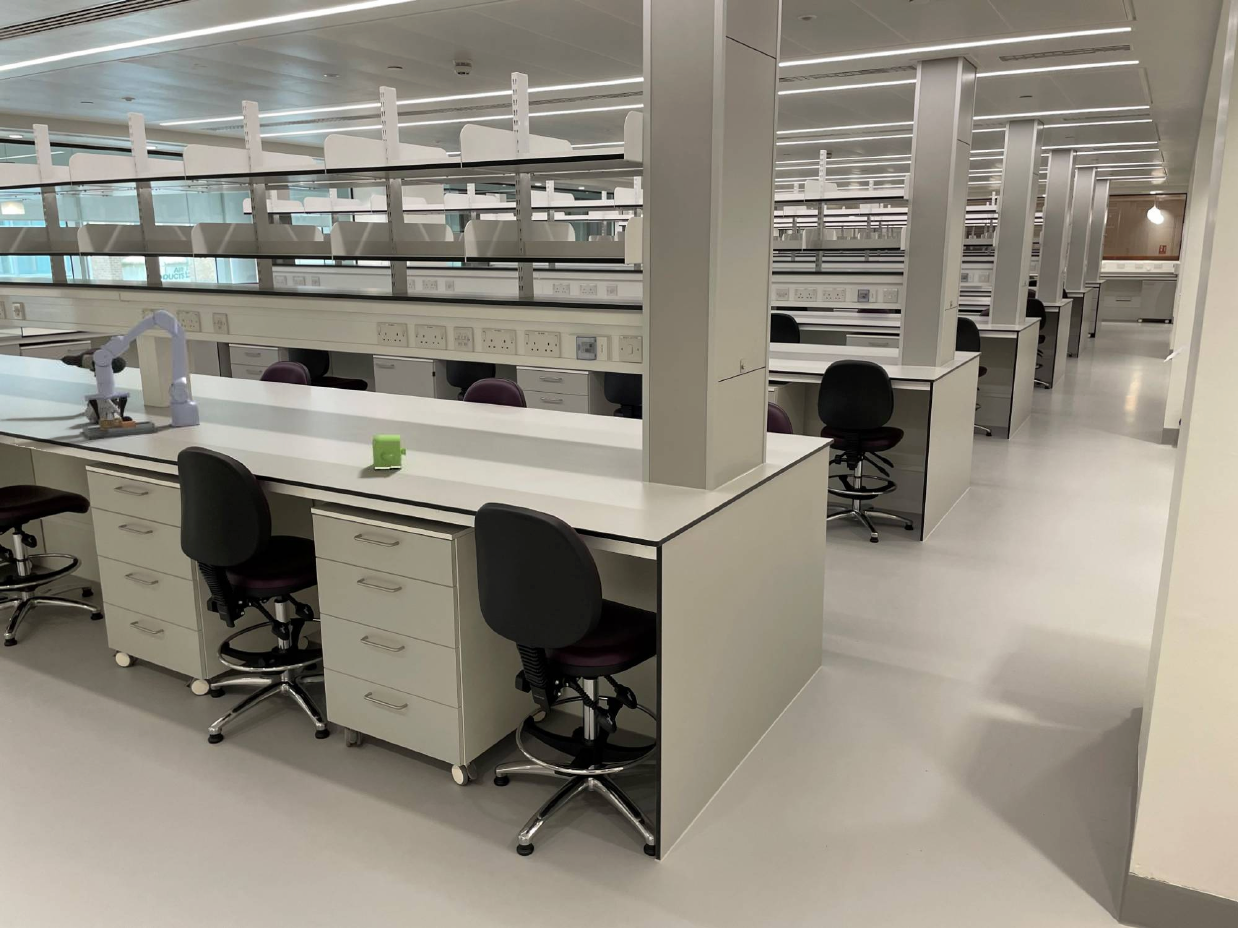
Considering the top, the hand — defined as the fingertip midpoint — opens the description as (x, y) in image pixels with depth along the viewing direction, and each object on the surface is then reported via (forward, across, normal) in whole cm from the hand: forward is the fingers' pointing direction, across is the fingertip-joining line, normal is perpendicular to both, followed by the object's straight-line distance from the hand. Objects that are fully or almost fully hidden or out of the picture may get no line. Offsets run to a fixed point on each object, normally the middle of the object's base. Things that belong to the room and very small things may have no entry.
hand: (110, 418), depth 327 cm
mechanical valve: (+5, +2, +14) cm, 15 cm away
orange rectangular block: (+3, +5, -6) cm, 9 cm away
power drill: (+5, +1, +44) cm, 44 cm away
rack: (+3, 0, 0) cm, 3 cm away
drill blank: (+3, 0, 0) cm, 3 cm away
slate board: (+5, +2, -4) cm, 7 cm away
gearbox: (+5, +64, -110) cm, 127 cm away
